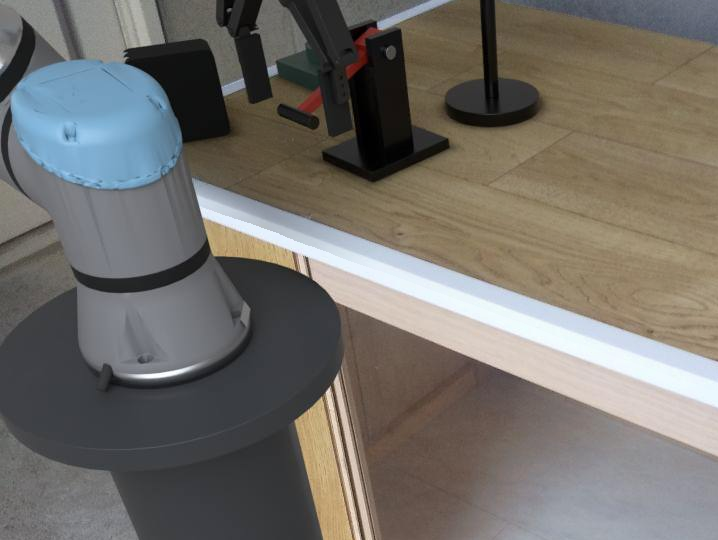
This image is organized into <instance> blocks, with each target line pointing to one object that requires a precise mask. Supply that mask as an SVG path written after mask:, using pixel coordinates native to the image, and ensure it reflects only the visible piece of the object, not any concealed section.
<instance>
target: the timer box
mask: <svg viewBox="0 0 718 540" xmlns="http://www.w3.org/2000/svg"><path fill="white" fill-rule="evenodd" d="M304 47H305V48H304V49H305V50H302V51H299V52H295V53H293V54H290V55H288V56H285V57H281V58H278V59H276V60H275V65H276V70H277V75H278V78H280V79H282V80H285V81H288V82H290V83H293V84H296V85H298V86H301V87H304V88H306V89H309V90H311V91H313V92H314V91H315V90H316V89H317V88H318V87H320V85H319V79H318V74H317V70H318V69H319V68H320V66H321V64H320V62H319V61H318V59H317V57H316V55H315V54H314V52H313V50H312V49H311V47H310V45H309V43H308V42H307V41H305V42H304ZM327 54H328V56H329V53H328V52H327ZM348 86H349V84H348Z"/></svg>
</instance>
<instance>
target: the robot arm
mask: <svg viewBox="0 0 718 540" xmlns="http://www.w3.org/2000/svg"><path fill="white" fill-rule="evenodd" d="M263 1H264V0H216V2H215V21H216V24H217V25H218V26H219V28H224V27H225V28H226V29H227V33H228V34H229V36H230V37H231V38H233V41H234V45H235V51H236V54H237V59H238V63H239V65H240V70H241V73H242V78H243V83H244V87H245V91H246V96H247V100H248V103H249V104H250V105H257V104H260V103H261V102H265V101H267V100H270V99H272V98H274V94H273V89H272V84H271V80H270V75H269V70H268V66H267V61H266V56H265V51H264V46H263V43H262V37H261V34H260V33H258V32H255V31H258V30H259V29H260V27H259V26H258V24H257V20H258V17H259V13H260V10H261V7H262V4H263ZM278 2H279V4H280V5H281V6H282V7H284V8H286V9H288V10H289V12H290V14H291V16H292V18H293V19H294V22H295V23H296V24H297V26H298V28H299V30H300V32H301V34H302V35H303V36H304V38H305V41H306V42H308V43H309V45H310V47H311V49H312V50H313V52H314V54H315V55H316V57H317V59H318V61H319V62H320V64H321V66H320V68H319V69H318V70H317V74H318V79H319V85H320V91H321V96H322V102H323V103H322V105H323V106H322V107H323V113H324V119H325V124H326V130H327V135H328V137H330V138H332V139H333V138H334V139H335V138H336V137H338V136H341V135H343V134H346V133H348V132H350V131H353V130H354V125H353V124H354V123H353V118H352V117H353V116H352V110H351V104H350V101H351V98H350V91H349V86H348V80H347V73H346V67H347V66H348V65H351V64H354V63H356V62H358V61H359V59H360V58H359V54H358V51H357V49H356V46H355V44H354V41H353V39H352V37H351V34H350V32H349V29H348V27H349V26H348V24H347V21H346V20H345V17H344V15H343V13H342V10H341V7H340V5H339V3H338V0H278ZM229 9H230V10H229ZM251 32H253V33H251ZM344 50H345V51H344ZM327 52H328V53H329V56H328V54H327ZM0 180H2V181H3V182H4V183H6V184H7V185H9V186H10V187H12V188H13V189H14V190H15V191H18V192H19V193H20V194H22V195H23V196H25V197H26V198H27V199H28V200H30V201H31V202H32V203H34V204H36V205H37V206H38V207H40V208H41V209H43V210H44V211H45V212H47V214H48V216H49V217H50V219H51V221H52V222H53V226H54V228H55V230H56V233H57V235H58V238H59V241H60V243H61V246H62V248H63V250H64V252H65V256H66V259H67V261H68V263H69V267H70V268H71V269H70V270H71V271H72V273H73V277H74V279H75V281H76V286H77V314H78V341H79V348H80V351H81V353H82V356H83V358H84V361H85V363H86V366H87V367H88V369H89V370H90V372H91V373H92V374H93V375H95V376H96V377H97V378H99V379H98V382H97V385H96V389H98V390H101V391H104V392H107V390H108V387H109V384H112V385H115V386H119V387H124V388H132V389H159V388H167V387H173V386H178V385H183V384H187V383H190V382H194V381H196V380H199V379H202V378H205V377H207V376H209V375H212V374H214V373H216V372H218V371H219V370H221V369H223V368H225V367H226V366H228V365H229V364H231V363H232V362H233V361H234V360H236V359H237V358H238V357H239V356H240V355H241V354H242V353H243V352H244V351H245V349H246V348H247V346H248V345H249V343H250V341H251V338H252V333H253V327H252V322H251V318H250V315H249V314H250V308H249V306H248V305H247V304H246V302H245V301H244V300H243V298H242V297H241V295H240V294H239V292H238V291H237V290H236V288H235V287H234V285H233V284H232V282H231V281H230V279H229V278H228V276H227V275H226V273H225V272H224V270H223V269H222V267H221V266H220V264H219V263H218V261H217V260H216V258H215V257H214V256H215V255H214V253H213V251H212V248H211V244H210V241H209V238H208V237H209V236H208V234H207V229H206V226H205V222H204V218H203V214H202V211H201V207H200V203H199V200H198V196H197V192H196V189H195V185H194V180H193V177H192V174H191V170H190V165H189V162H188V158H187V154H186V151H185V146H184V144H183V143H182V133H181V130H180V126H179V123H178V120H177V118H176V117H175V116H174V113H173V111H172V108H171V105H170V103H169V100H168V97H167V95H166V93H165V91H164V90H163V88H162V87H161V86H160V84H159V83H158V82H157V81H156V80H155V79H154V78H152V77H151V76H150V75H149V74H147V73H145V72H144V71H142V70H140V69H138V68H136V67H133V66H130V65H127V64H124V62H120V61H111V62H106V63H105V62H103V60H101V59H96V58H95V59H91V58H90V59H72V60H66V58H64V57H63V56H62V55H61V54H60V53H59V52H58V51H57V50H56V49H55V48H54V47H53V46H52V45H51V44H50V43H49V42H48V41H47V40H46V39H45V38H44V37H43V36H42V35H41V34H40V32H38V30H36V29H35V28H34V27H33V26H32V24H30V23H29V22H28V21H27V20H26V19H25V18H24V17H23V16H22V15H21V14H20V13H19V12H18V11H17V10H16V9H15V8H14V7H12V6H11V5H8V4H6V3H0Z"/></svg>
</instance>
